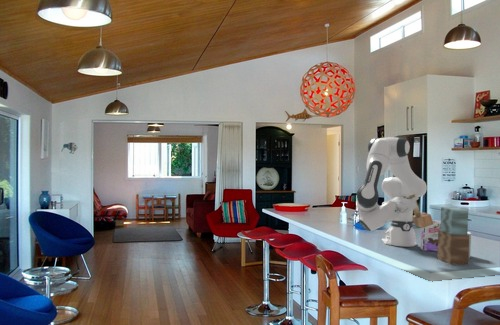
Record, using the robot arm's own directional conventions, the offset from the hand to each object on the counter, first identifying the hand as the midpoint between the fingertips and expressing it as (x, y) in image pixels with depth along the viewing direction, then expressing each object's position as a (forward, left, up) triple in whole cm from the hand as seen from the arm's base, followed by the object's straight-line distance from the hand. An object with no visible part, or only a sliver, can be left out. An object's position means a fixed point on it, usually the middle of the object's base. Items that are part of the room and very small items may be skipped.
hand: (415, 196), depth 235 cm
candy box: (-26, +24, -32) cm, 48 cm away
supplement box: (-12, +32, -32) cm, 47 cm away
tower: (0, +20, -32) cm, 38 cm away
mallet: (0, -1, -7) cm, 7 cm away
